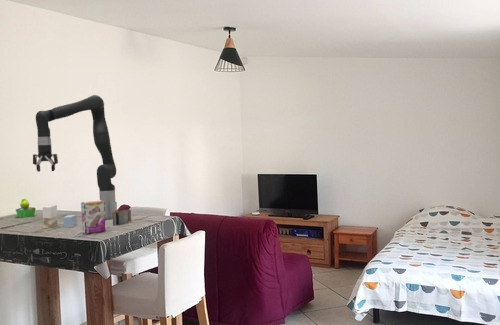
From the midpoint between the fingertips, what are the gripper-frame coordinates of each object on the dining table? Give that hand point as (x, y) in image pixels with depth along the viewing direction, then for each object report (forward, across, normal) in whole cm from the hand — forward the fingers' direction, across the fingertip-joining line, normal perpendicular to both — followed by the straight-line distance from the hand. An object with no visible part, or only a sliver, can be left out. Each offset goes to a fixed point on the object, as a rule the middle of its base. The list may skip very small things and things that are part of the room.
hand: (45, 171), depth 297 cm
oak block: (+30, -10, +20) cm, 37 cm away
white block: (+24, -10, +20) cm, 33 cm away
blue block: (+30, -21, +19) cm, 41 cm away
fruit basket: (+30, +23, -18) cm, 42 cm away
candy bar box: (+30, -41, +37) cm, 63 cm away
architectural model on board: (+31, -49, +14) cm, 60 cm away
